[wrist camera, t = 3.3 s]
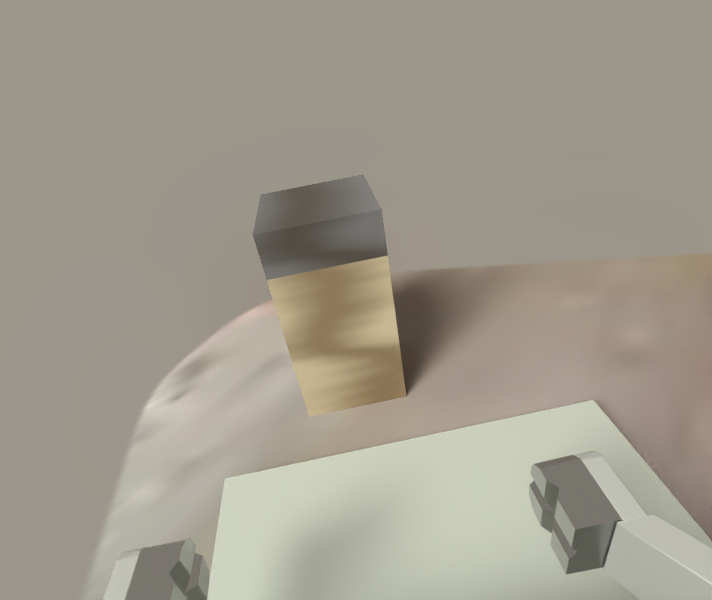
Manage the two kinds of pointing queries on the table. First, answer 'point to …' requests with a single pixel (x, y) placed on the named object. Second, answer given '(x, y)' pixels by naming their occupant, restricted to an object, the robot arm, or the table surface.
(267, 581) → the sage board
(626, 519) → the robot arm
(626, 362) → the table surface
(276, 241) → the maple block
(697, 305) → the table surface
